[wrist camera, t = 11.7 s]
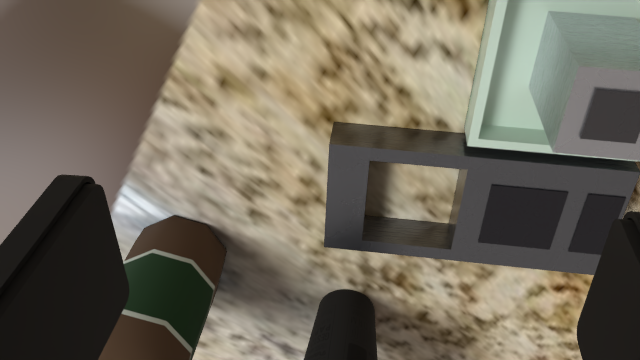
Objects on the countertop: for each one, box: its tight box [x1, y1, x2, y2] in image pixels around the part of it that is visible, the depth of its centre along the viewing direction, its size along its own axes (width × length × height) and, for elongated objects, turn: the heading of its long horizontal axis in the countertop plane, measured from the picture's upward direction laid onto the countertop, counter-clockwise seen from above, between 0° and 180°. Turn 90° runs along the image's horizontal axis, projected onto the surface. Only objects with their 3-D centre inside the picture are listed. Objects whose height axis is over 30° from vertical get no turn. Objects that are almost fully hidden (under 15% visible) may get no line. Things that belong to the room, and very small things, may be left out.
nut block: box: [529, 11, 640, 161], centre depth 34 cm, size 5×5×8 cm
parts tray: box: [464, 0, 640, 162], centre depth 37 cm, size 12×12×2 cm
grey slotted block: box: [324, 122, 640, 275], centre depth 44 cm, size 9×20×3 cm, turn 88°
